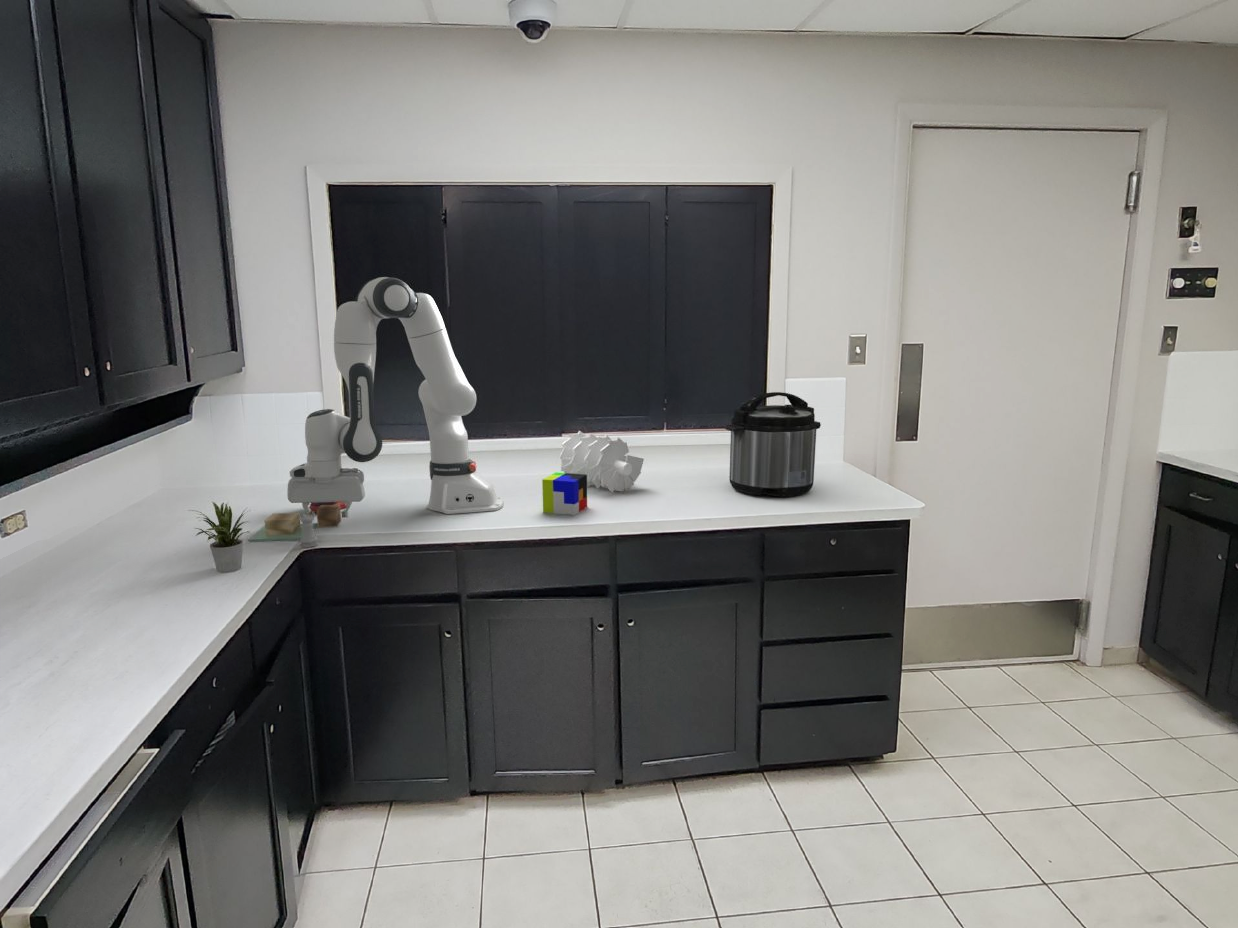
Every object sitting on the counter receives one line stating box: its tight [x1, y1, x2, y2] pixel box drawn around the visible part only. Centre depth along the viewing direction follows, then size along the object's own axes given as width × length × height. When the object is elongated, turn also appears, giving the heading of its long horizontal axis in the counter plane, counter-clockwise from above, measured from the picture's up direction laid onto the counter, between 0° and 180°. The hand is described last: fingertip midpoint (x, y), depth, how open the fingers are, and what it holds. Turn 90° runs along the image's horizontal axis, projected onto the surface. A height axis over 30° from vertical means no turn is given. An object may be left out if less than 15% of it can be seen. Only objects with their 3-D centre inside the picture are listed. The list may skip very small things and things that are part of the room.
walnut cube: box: [316, 505, 342, 528], centre depth 228 cm, size 5×5×5 cm
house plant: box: [187, 501, 251, 573], centre depth 191 cm, size 14×14×16 cm
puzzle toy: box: [541, 471, 588, 516], centre depth 242 cm, size 10×10×10 cm
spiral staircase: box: [558, 430, 645, 493], centre depth 268 cm, size 18×18×25 cm
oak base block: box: [264, 512, 302, 535], centre depth 219 cm, size 7×7×4 cm
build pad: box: [247, 522, 318, 543], centre depth 220 cm, size 14×14×1 cm
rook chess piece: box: [299, 514, 319, 549], centre depth 208 cm, size 4×4×8 cm
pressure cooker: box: [724, 391, 822, 497], centre depth 264 cm, size 30×28×32 cm
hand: (328, 517), depth 228 cm, fingers open, 8 cm apart
